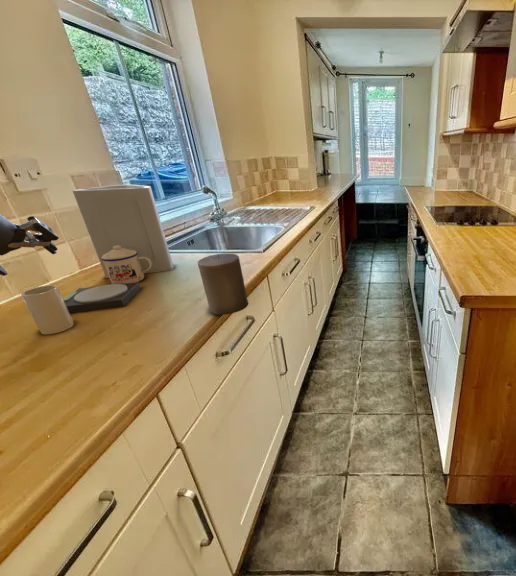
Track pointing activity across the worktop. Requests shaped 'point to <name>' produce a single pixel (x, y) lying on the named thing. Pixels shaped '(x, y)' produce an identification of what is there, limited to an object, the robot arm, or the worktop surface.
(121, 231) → the light grey box
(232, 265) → the pillar candle
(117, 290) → the scale
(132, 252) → the teacup with lid
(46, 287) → the cup
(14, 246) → the robot arm
